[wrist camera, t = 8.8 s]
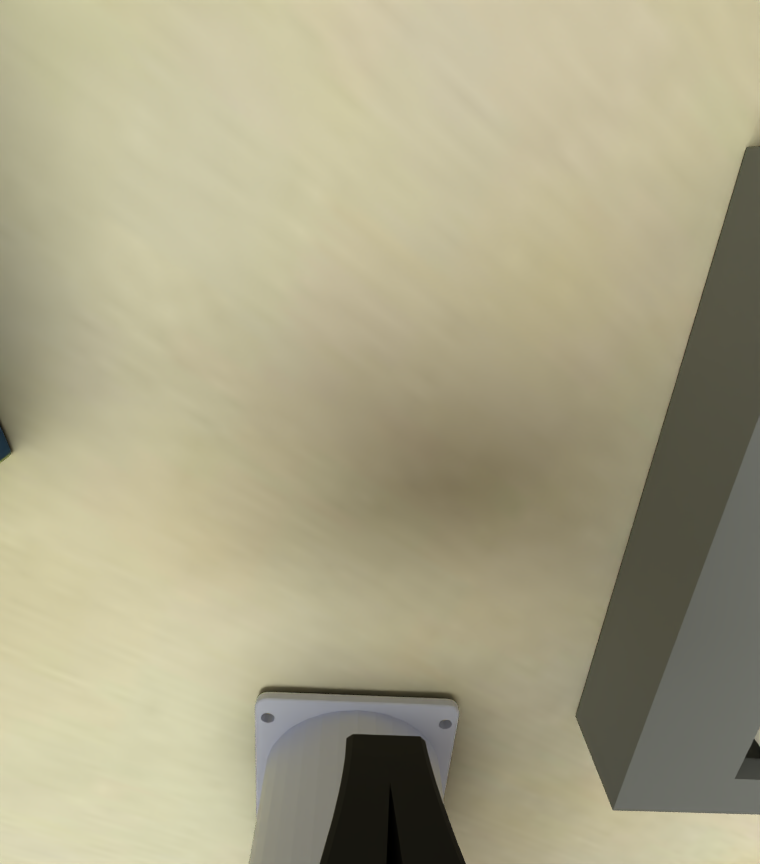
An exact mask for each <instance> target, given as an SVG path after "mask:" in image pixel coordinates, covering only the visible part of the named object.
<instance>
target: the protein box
mask: <svg viewBox="0 0 760 864" xmlns="http://www.w3.org/2000/svg"><path fill="white" fill-rule="evenodd" d="M10 454H11V450H10V447H9V445H8V443H7V440H6V438H5V436H4V433H3V431H2V429H1V427H0V463H1V462H2V461H4V460H5V459H6V458H7V457H9V456H10Z"/></svg>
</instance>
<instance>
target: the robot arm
mask: <svg viewBox="0 0 760 864" xmlns="http://www.w3.org/2000/svg"><path fill="white" fill-rule="evenodd" d="M266 713H270V714H266ZM458 719H459V709H458V705H457V703H456V702H455V701H453V700H451V699H443V698H417V697H391V696H365V695H339V694H313V693H287V692H264V693H262V694H260V695H259V696H258V697H257V700H256V704H255V750H256V825H255V831H254V837H253V842H252V848H251V854H250V860H249V864H466V863H465V861H464V858H463V856H462V853H461V851H460V848H459V846H458V843H457V840H456V838H455V835H454V832H453V830H452V827H451V824H450V822H449V819H448V816H447V813H446V810H445V807H444V794H445V789H446V783H447V778H448V772H449V767H450V762H451V756H452V751H453V746H454V740H455V735H456V729H457V724H458ZM443 720H444V721H443Z"/></svg>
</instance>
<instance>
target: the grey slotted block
mask: <svg viewBox="0 0 760 864" xmlns="http://www.w3.org/2000/svg"><path fill="white" fill-rule="evenodd" d="M576 718H577V721H578V723H579V726H580V729H581V731H582V734H583V736H584V739H585V741H586V744H587V746H588V749H589V751H590V754H591V756H592V759H593V761H594V764H595V766H596V769H597V771H598V774H599V776H600V779H601V782H602V784H603V787H604V789H605V792H606V794H607V797H608V799H609V802H610V804H611V807H612V809H613V810H622V811H657V812H691V813H726V814H760V746H759V745H758V743H757V742H756V740H755V739H754V738H755V736H756V734H757V732H758V730H759V728H760V146H757V147H748V148H747V149H746V152H745V155H744V159H743V162H742V165H741V169H740V172H739V175H738V179H737V182H736V185H735V189H734V192H733V195H732V199H731V202H730V205H729V209H728V212H727V215H726V218H725V222H724V225H723V228H722V232H721V235H720V238H719V242H718V245H717V248H716V252H715V255H714V258H713V262H712V265H711V268H710V272H709V275H708V278H707V282H706V285H705V288H704V292H703V295H702V298H701V302H700V305H699V308H698V312H697V315H696V318H695V322H694V325H693V328H692V332H691V335H690V338H689V342H688V345H687V348H686V352H685V355H684V358H683V362H682V365H681V368H680V371H679V375H678V378H677V381H676V385H675V388H674V391H673V395H672V398H671V401H670V405H669V408H668V411H667V415H666V418H665V421H664V425H663V428H662V431H661V435H660V438H659V441H658V445H657V448H656V451H655V455H654V458H653V461H652V465H651V468H650V471H649V475H648V478H647V481H646V485H645V488H644V491H643V495H642V498H641V501H640V505H639V508H638V511H637V515H636V518H635V521H634V524H633V528H632V531H631V534H630V538H629V541H628V544H627V548H626V551H625V554H624V558H623V561H622V564H621V568H620V571H619V574H618V578H617V581H616V584H615V588H614V591H613V594H612V598H611V601H610V604H609V608H608V611H607V614H606V618H605V621H604V624H603V628H602V631H601V634H600V638H599V641H598V644H597V648H596V651H595V654H594V658H593V661H592V664H591V668H590V671H589V674H588V677H587V681H586V684H585V687H584V691H583V694H582V697H581V701H580V704H579V707H578V711H577V714H576Z"/></svg>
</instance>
